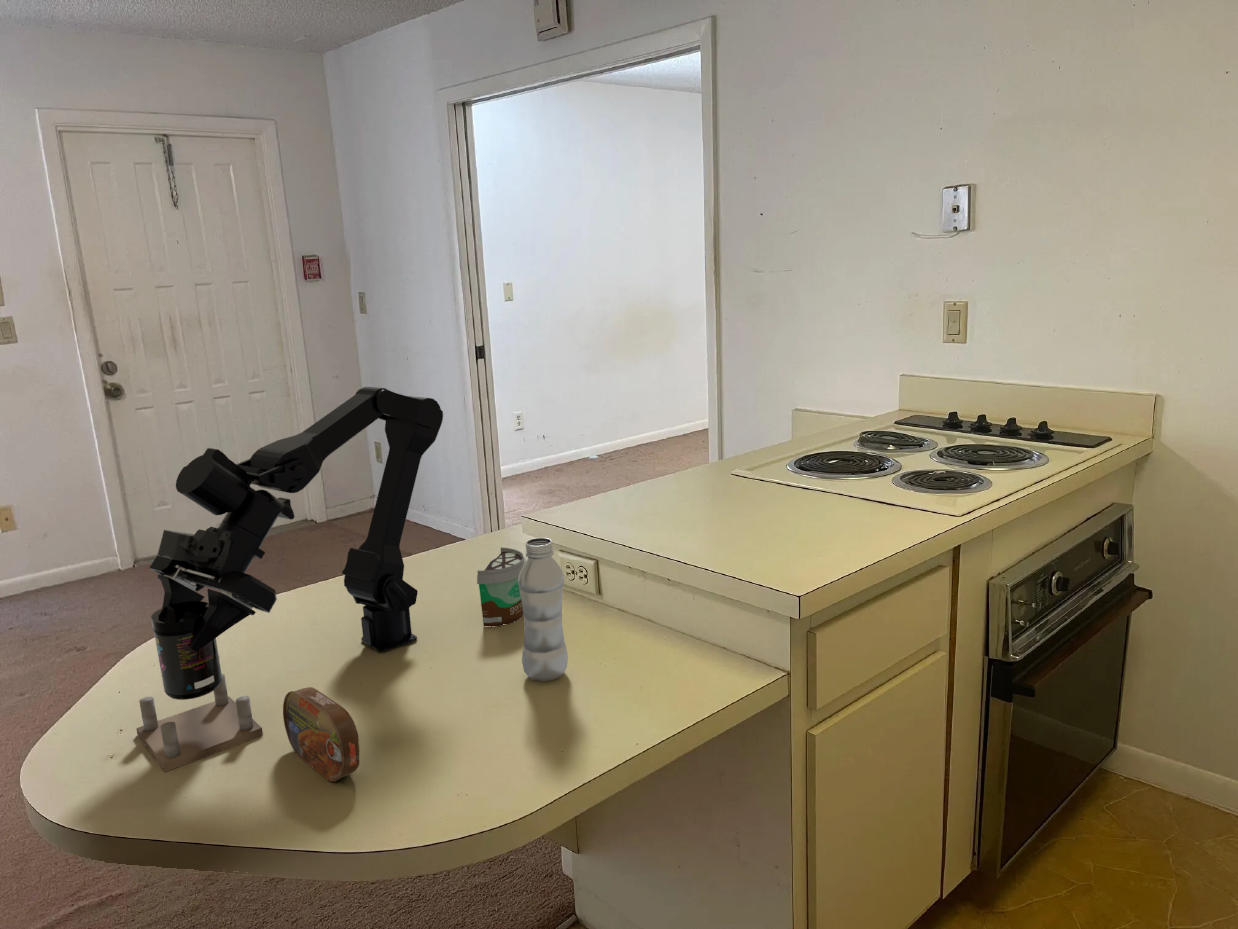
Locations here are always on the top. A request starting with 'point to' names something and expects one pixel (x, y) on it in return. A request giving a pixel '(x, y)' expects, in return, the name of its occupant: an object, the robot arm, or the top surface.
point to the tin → (321, 733)
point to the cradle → (197, 729)
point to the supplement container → (185, 651)
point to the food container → (501, 588)
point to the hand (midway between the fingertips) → (175, 644)
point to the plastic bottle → (542, 612)
